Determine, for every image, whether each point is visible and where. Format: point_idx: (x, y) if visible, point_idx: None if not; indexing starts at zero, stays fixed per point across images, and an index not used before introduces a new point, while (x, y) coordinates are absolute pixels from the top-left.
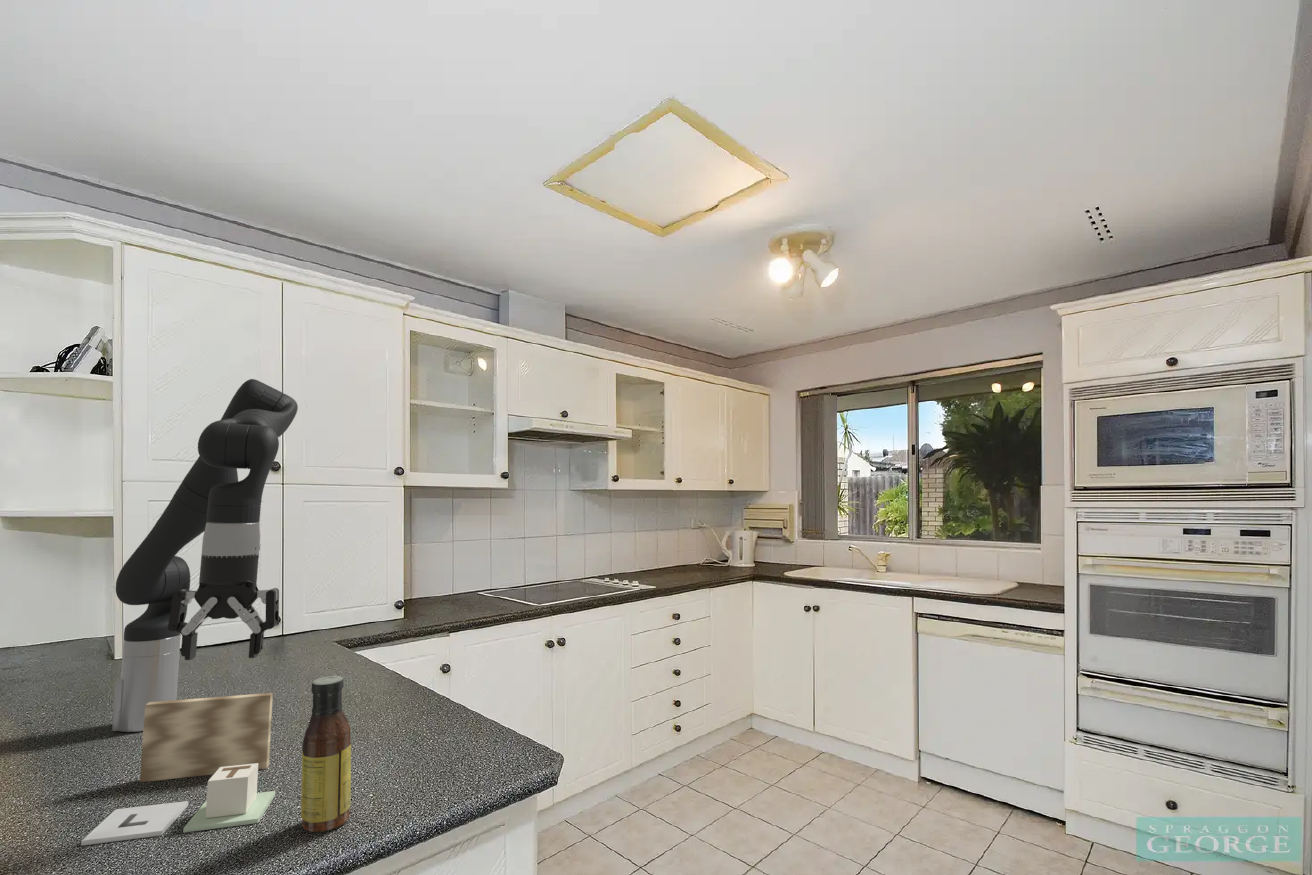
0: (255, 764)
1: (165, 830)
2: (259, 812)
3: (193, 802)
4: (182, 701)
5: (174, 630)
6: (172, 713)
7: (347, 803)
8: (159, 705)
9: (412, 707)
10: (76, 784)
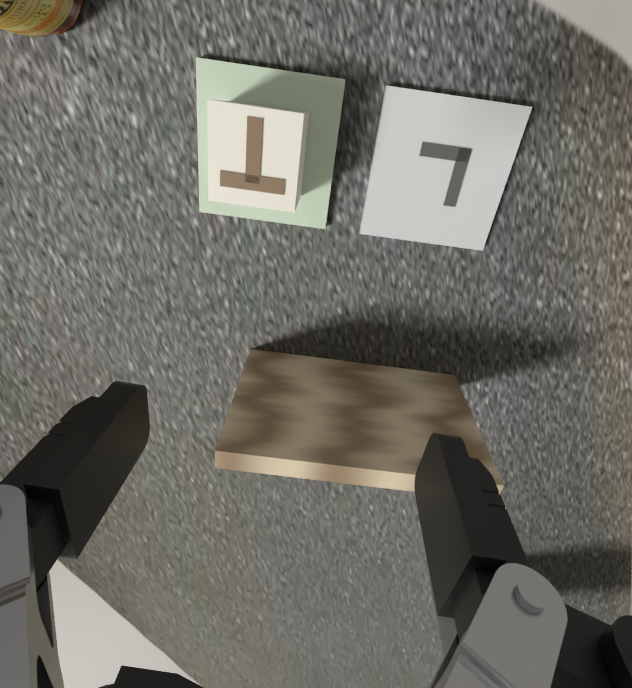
0: (212, 192)
1: (381, 109)
2: (202, 97)
3: (351, 241)
4: None
5: (618, 619)
6: None
7: None
8: None
9: None
10: (547, 405)
